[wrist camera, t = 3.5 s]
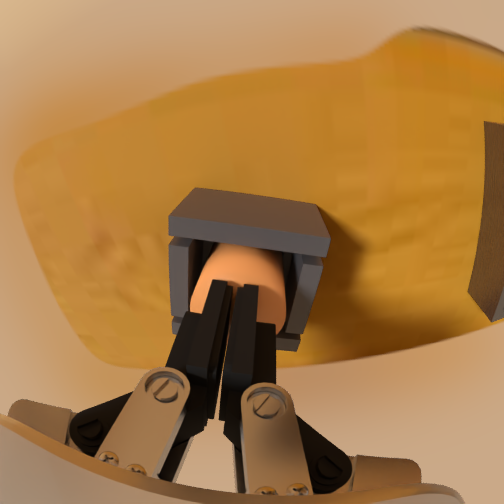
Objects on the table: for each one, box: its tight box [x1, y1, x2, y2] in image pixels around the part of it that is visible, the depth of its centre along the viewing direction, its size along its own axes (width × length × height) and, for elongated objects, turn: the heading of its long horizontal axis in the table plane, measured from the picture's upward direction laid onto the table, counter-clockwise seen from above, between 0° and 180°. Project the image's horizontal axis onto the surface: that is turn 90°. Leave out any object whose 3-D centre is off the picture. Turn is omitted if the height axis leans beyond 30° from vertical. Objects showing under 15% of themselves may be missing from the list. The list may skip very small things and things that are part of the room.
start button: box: [190, 242, 286, 344], centre depth 12 cm, size 4×4×4 cm
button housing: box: [169, 188, 331, 352], centre depth 13 cm, size 6×6×4 cm
